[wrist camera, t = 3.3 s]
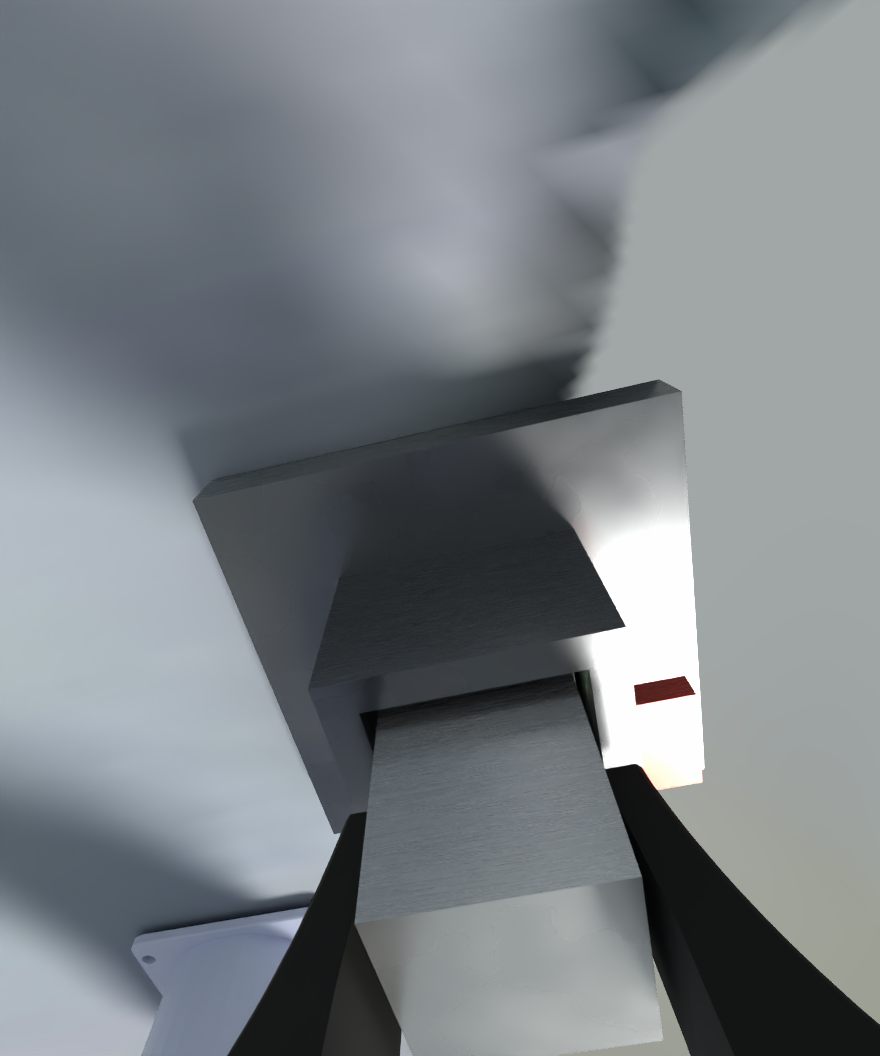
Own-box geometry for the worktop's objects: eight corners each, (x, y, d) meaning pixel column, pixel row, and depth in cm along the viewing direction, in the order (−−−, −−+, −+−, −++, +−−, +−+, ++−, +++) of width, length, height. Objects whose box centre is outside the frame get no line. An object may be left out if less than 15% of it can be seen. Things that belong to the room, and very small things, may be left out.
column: (563, 697, 17) (670, 1043, 10) (422, 723, 18) (417, 1078, 10) (541, 572, 16) (649, 870, 8) (385, 603, 16) (345, 920, 8)
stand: (685, 733, 20) (781, 911, 15) (340, 796, 21) (308, 985, 16) (659, 379, 15) (787, 446, 10) (212, 480, 16) (101, 592, 11)
